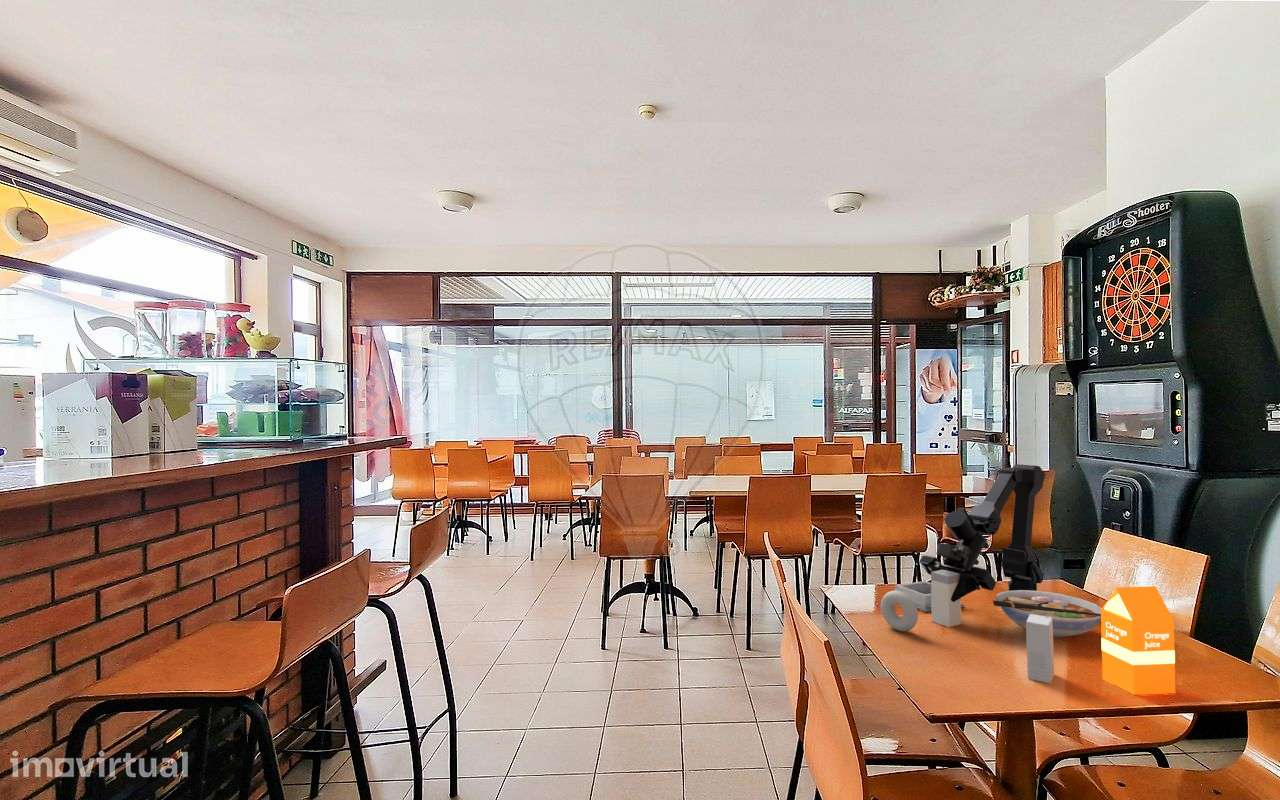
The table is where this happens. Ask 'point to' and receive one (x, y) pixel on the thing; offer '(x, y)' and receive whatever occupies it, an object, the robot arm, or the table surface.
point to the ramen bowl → (1050, 610)
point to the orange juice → (1138, 641)
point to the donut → (907, 606)
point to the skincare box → (1040, 648)
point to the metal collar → (917, 592)
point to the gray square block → (945, 598)
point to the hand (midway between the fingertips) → (942, 598)
